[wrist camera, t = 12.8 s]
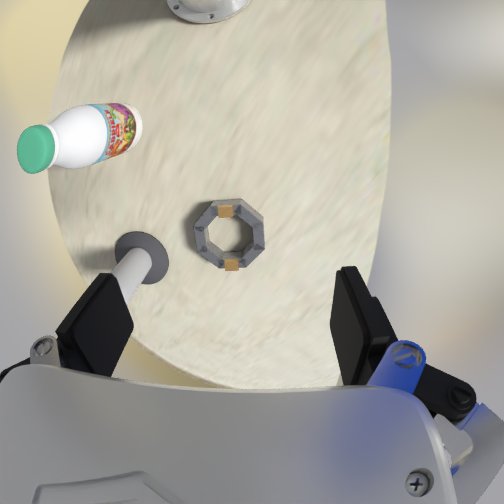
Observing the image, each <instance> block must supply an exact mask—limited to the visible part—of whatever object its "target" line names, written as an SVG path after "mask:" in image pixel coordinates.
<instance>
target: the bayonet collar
mask: <svg viewBox="0 0 504 504" xmlns="http://www.w3.org/2000/svg"><path fill="white" fill-rule="evenodd" d="M234 215H238V216H239V217H240V218H241V219H243V220H244V221H245V222H246V223H248V224H249V225H250V226H251V227H252V228H253V239H254V240H253V241H252V242H251V243H250V244H249V245H248V246H247V247H246V248H245V249H244V250H243V251H235V252H223V251H222V250H221V249H220V248H218V247H217V246H216V245H214V244H213V243H212V242H210V240H209V233H208V225H209V224H210V223H211V222H212V220H213V219H214V218H215V217H216V216H219V218H225V217H233V216H234ZM194 233H195V239H196V245H197V251H198V253H199V254H201V255H202V256H203V257H205V258H206V259H207V260H209V261H210V262H211V263H213V264H214V265H215V266H217V267H218V268H225V271H238V270H239V268H245V267H247V266H248V265H249V264H250V263H251V262H252V261H253V260H254V259H255V258H256V257H257V256H258V255H259V254H260V253H261V252H262V251H263V250H265V242H264V224H263V216H262V215H260V214H259V213H258V212H257V211H256V210H254V209H253V208H252V207H251V206H250V205H248V204H247V203H246V202H245V201H244V200H242V199H233V200H218V201H213V202H212V203H211V205H210V206H209V207H208V208H207V209H206V210H205V212H204V213H203V214H202V215H201V216H200V218H199V219H198V220H197V221H196V223H195V225H194Z"/></svg>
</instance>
